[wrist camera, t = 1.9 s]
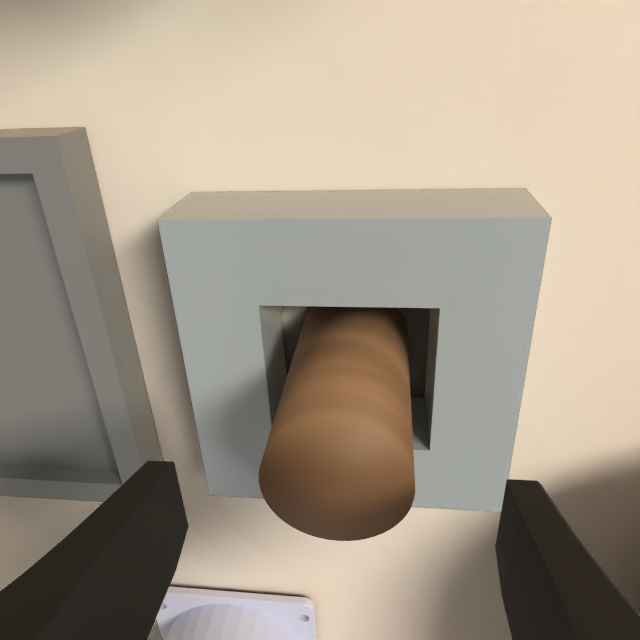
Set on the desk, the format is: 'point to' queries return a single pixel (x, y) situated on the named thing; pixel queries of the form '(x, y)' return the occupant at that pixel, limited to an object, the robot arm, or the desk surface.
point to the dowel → (343, 427)
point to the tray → (64, 329)
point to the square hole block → (361, 291)
